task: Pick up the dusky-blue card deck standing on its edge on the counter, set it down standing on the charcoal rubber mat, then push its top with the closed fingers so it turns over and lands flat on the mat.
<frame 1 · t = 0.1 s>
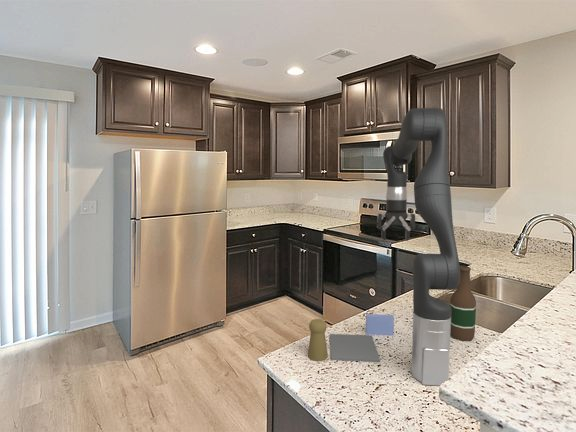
hand: (395, 240, 133), 29 cm above the worktop, tool pointing down, fingers open, 8 cm apart
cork: (317, 356, 103), on the worktop
beer bottle: (461, 337, 115), on the worktop
card deck: (379, 333, 117), on the worktop
mat: (353, 347, 107), on the worktop
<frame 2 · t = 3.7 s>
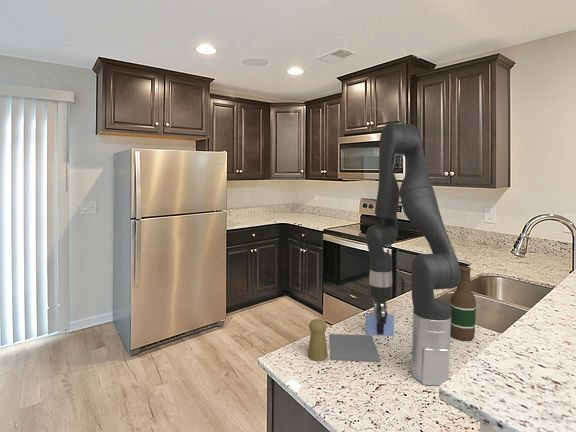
hand: (379, 331, 117), 1 cm above the worktop, tool pointing down, fingers closed on card deck, 1 cm apart
card deck: (379, 333, 117), on the worktop, touching gripper
everything else where it was.
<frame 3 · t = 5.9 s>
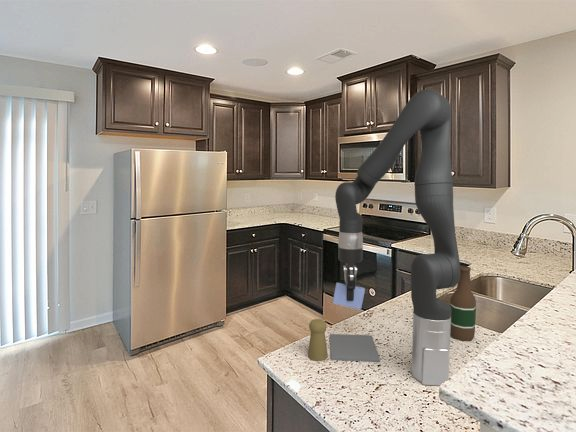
hand: (349, 299, 109), 15 cm above the worktop, tool pointing down, fingers closed on card deck
card deck: (346, 305, 109), point 13 cm above the worktop, tilted 11°, touching gripper
everything else where it was.
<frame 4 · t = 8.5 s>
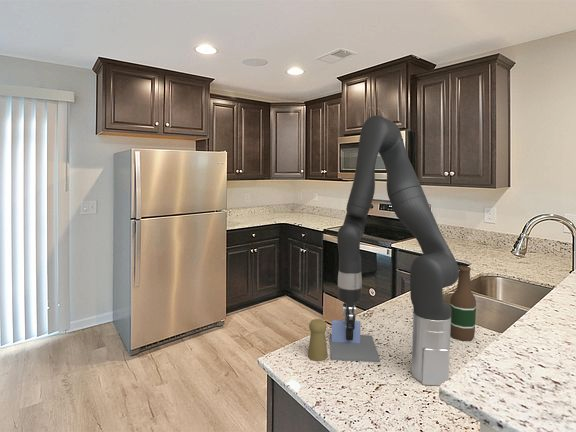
hand: (348, 336, 110), 2 cm above the worktop, tool pointing down, fingers open, 3 cm apart
card deck: (345, 341, 111), point 1 cm above the worktop, touching mat
everything else where it was.
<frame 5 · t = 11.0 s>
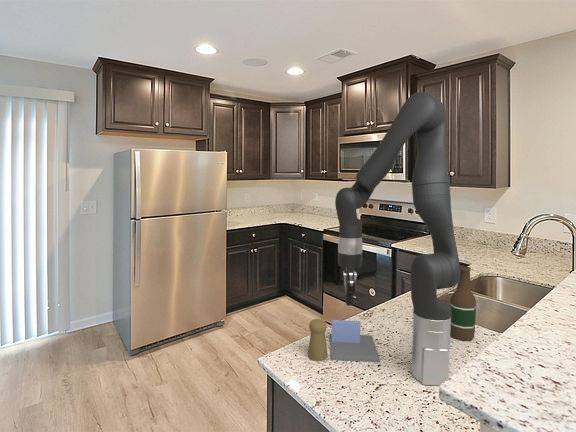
hand: (349, 304, 109), 13 cm above the worktop, tool pointing down, fingers closed
nothing on the worktop moved.
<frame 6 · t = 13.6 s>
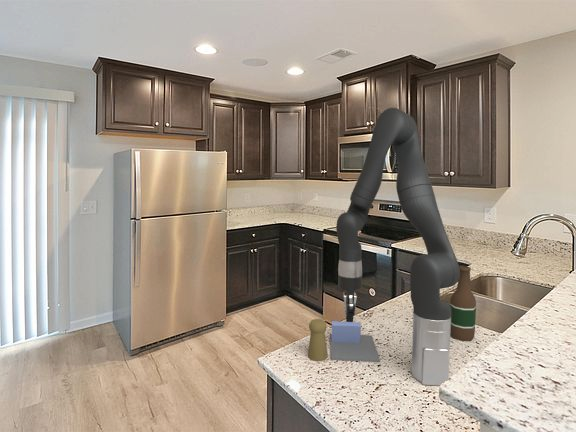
hand: (349, 325, 111), 5 cm above the worktop, tool pointing down, fingers closed
card deck: (345, 340, 111), point 1 cm above the worktop, tilted 15°, touching mat
everything else where it was.
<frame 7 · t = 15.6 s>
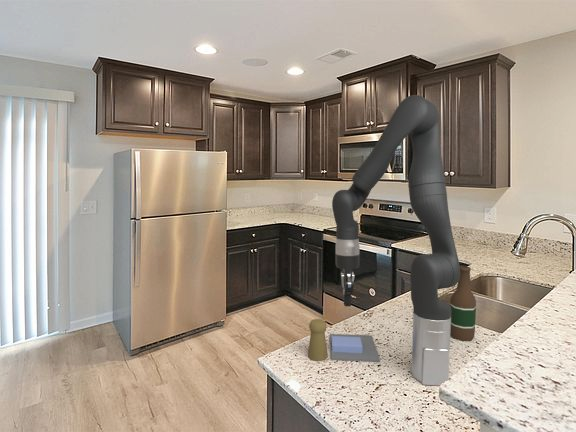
hand: (347, 305, 110), 12 cm above the worktop, tool pointing down, fingers closed
card deck: (345, 339, 110), point 2 cm above the worktop, tilted 90°, touching mat
everything else where it was.
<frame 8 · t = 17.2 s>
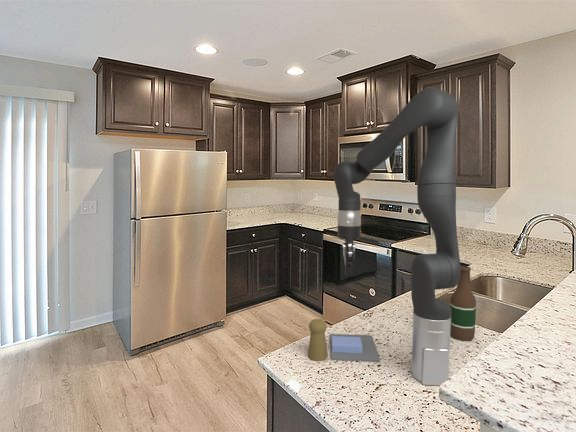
hand: (348, 275, 113), 21 cm above the worktop, tool pointing down, fingers closed
nothing on the worktop moved.
at the end: card deck tilted 90°; card deck inside the target area (3.0 cm from its centre), point 1.6 cm above the worktop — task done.
